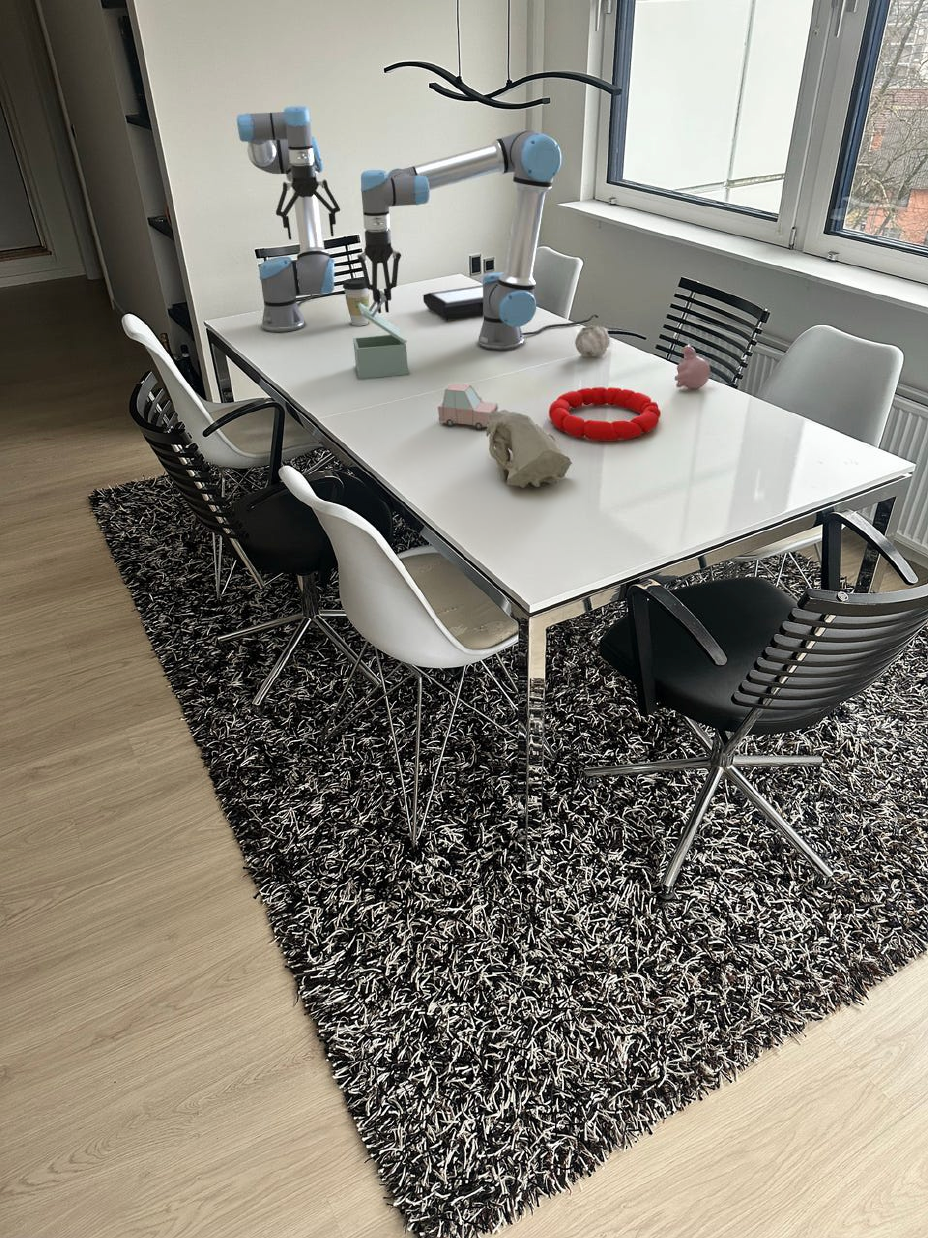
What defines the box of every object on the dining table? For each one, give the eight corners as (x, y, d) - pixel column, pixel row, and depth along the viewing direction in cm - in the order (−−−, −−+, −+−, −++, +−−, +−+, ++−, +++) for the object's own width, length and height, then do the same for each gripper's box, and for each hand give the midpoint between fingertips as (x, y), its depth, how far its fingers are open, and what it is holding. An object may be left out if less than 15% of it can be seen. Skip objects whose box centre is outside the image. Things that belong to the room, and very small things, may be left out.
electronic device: (443, 305, 321) (423, 292, 336) (444, 322, 324) (424, 309, 339) (522, 293, 331) (499, 281, 346) (522, 310, 334) (499, 297, 350)
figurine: (665, 387, 264) (669, 347, 257) (693, 380, 268) (698, 340, 261) (686, 396, 257) (690, 355, 250) (714, 388, 262) (720, 348, 255)
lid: (362, 315, 267) (376, 292, 264) (357, 304, 277) (372, 282, 274) (405, 344, 275) (419, 322, 272) (399, 333, 284) (413, 311, 281)
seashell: (565, 355, 290) (566, 324, 284) (602, 347, 296) (604, 317, 290) (583, 364, 283) (584, 332, 277) (621, 355, 288) (623, 324, 283)
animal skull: (496, 517, 219) (521, 479, 201) (463, 429, 225) (484, 384, 207) (557, 503, 225) (586, 465, 206) (523, 417, 231) (549, 373, 212)
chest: (359, 379, 278) (356, 349, 273) (355, 367, 287) (352, 337, 282) (407, 374, 280) (406, 344, 275) (402, 362, 290) (400, 333, 284)
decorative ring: (589, 435, 224) (684, 402, 234) (527, 398, 247) (617, 369, 256) (589, 461, 229) (683, 427, 238) (529, 422, 251) (617, 393, 260)
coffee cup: (372, 326, 323) (368, 283, 314) (345, 327, 323) (340, 284, 315) (374, 318, 331) (371, 276, 322) (348, 319, 331) (344, 277, 323)
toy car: (488, 432, 240) (488, 396, 234) (436, 426, 244) (434, 390, 239) (499, 419, 247) (499, 384, 241) (448, 413, 252) (447, 379, 246)
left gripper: (262, 167, 271) (272, 242, 283) (343, 163, 275) (350, 236, 287) (261, 164, 277) (271, 237, 289) (341, 159, 281) (348, 231, 293)
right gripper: (353, 233, 256) (360, 316, 269) (404, 230, 258) (408, 312, 272) (350, 228, 262) (358, 310, 275) (400, 225, 264) (405, 306, 278)
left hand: (311, 237), depth 288 cm, fingers open, 13 cm apart
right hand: (383, 311), depth 274 cm, fingers closed on lid, 2 cm apart
